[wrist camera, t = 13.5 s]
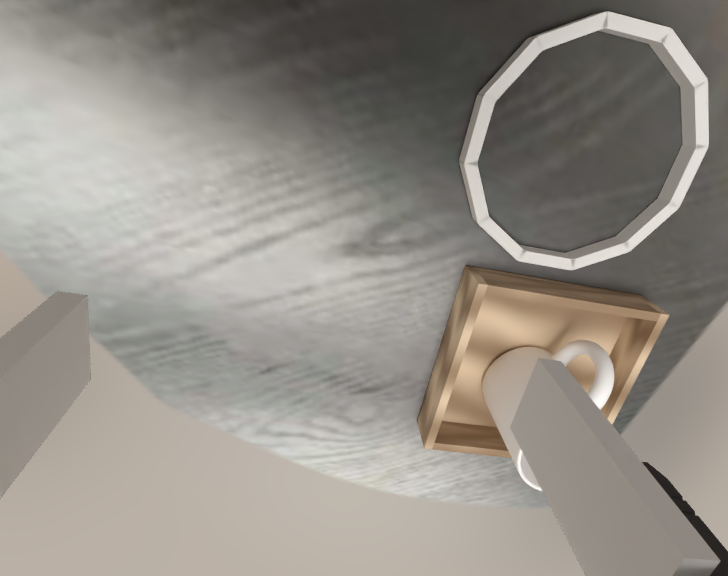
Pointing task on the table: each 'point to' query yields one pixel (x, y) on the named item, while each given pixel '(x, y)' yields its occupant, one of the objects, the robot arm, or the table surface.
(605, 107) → the table surface
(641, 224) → the socket ring
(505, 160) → the table surface
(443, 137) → the table surface
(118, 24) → the table surface
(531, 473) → the mug
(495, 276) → the oak bin
